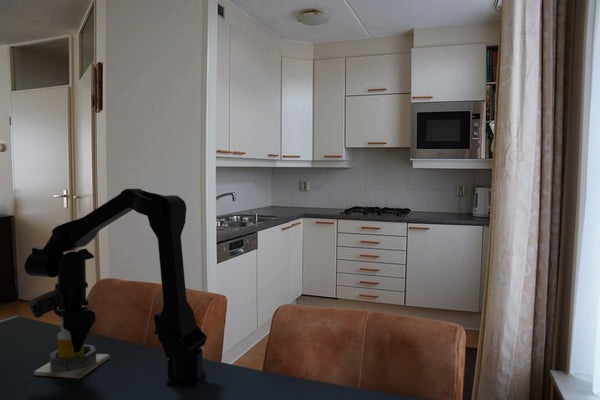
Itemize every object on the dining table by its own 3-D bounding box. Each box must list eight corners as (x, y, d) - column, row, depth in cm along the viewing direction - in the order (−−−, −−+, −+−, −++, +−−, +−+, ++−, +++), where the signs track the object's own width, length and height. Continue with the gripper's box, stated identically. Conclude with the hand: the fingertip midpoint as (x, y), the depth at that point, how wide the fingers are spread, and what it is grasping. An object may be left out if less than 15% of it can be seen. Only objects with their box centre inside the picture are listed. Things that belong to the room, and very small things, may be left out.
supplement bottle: (76, 368, 96) (75, 325, 95) (52, 368, 96) (51, 325, 95) (88, 358, 101) (88, 317, 101) (66, 358, 101) (65, 317, 101)
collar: (109, 357, 104) (109, 344, 103) (79, 378, 93) (79, 363, 93) (68, 354, 105) (67, 341, 105) (34, 374, 94) (33, 360, 94)
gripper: (26, 275, 101) (28, 341, 101) (35, 292, 86) (36, 368, 86) (79, 270, 107) (80, 331, 108) (95, 284, 92) (96, 355, 93)
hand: (73, 345), depth 99 cm, fingers open, 9 cm apart
